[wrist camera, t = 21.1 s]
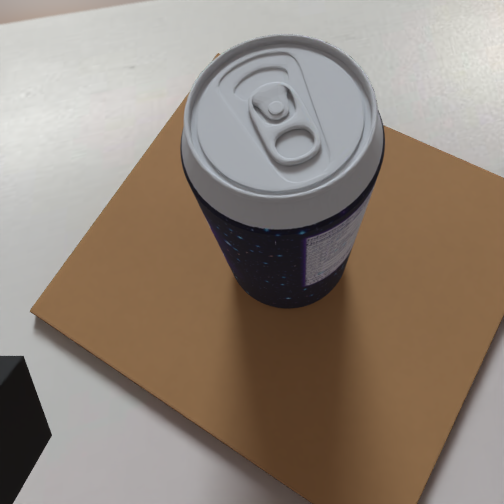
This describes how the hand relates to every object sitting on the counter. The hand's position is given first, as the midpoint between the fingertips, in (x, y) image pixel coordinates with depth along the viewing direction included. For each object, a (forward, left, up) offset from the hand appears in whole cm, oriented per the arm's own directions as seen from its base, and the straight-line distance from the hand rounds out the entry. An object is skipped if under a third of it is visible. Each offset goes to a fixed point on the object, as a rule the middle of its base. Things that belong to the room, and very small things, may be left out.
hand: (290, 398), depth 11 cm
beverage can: (+4, -6, -10) cm, 12 cm away
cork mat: (+4, -6, -11) cm, 13 cm away
